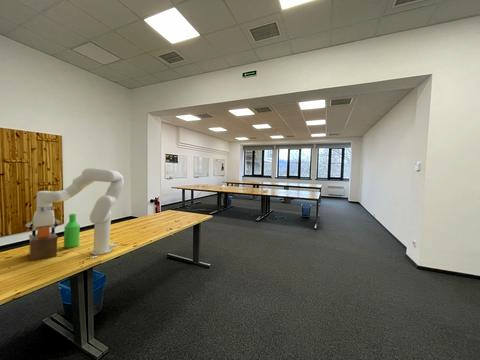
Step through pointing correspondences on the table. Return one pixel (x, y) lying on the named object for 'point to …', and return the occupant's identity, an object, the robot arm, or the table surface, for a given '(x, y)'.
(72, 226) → the bottle
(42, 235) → the cube
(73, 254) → the table surface
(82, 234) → the table surface
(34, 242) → the shelf
